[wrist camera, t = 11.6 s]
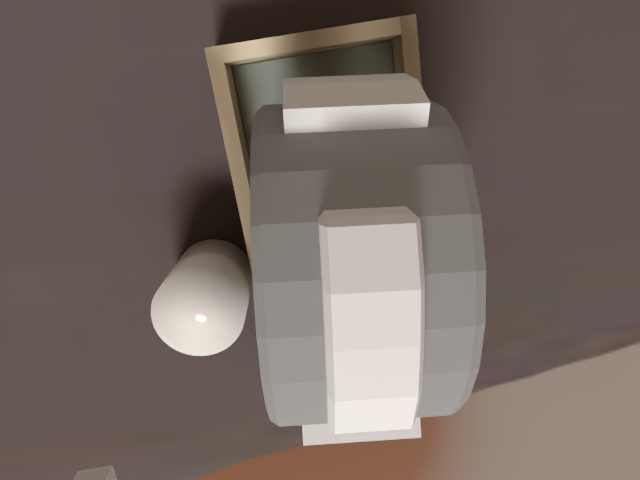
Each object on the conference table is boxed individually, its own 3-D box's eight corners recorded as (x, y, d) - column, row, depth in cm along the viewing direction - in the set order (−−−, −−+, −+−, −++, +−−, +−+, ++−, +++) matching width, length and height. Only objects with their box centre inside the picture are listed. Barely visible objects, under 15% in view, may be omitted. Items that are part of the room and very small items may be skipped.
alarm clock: (267, 83, 32) (226, 69, 13) (391, 78, 33) (529, 56, 13) (284, 321, 38) (271, 561, 18) (390, 315, 38) (488, 544, 19)
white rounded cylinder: (186, 315, 38) (163, 362, 32) (168, 245, 36) (140, 279, 30) (260, 303, 38) (252, 348, 32) (245, 233, 36) (234, 264, 30)
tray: (277, 357, 40) (275, 384, 36) (215, 53, 33) (204, 47, 29) (430, 332, 40) (445, 357, 36) (401, 23, 33) (416, 13, 29)
